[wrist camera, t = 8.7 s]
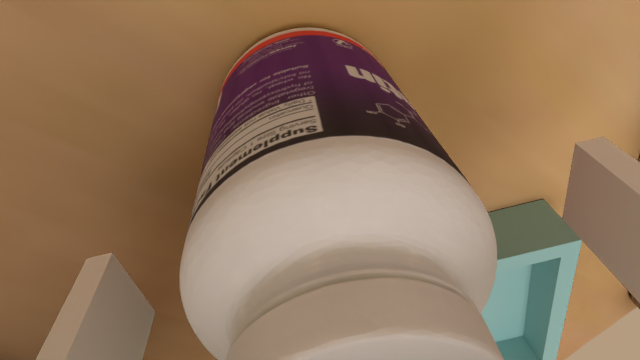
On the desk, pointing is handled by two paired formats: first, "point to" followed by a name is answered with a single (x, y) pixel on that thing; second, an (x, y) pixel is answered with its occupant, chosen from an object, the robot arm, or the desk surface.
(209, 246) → the pill bottle
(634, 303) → the grey t-shaped piece
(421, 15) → the desk surface
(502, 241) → the tray
